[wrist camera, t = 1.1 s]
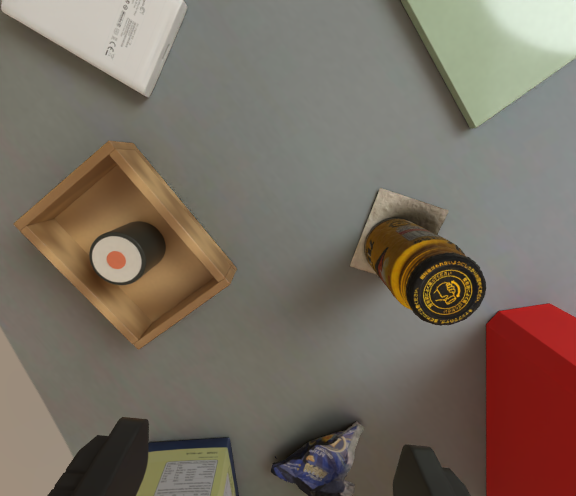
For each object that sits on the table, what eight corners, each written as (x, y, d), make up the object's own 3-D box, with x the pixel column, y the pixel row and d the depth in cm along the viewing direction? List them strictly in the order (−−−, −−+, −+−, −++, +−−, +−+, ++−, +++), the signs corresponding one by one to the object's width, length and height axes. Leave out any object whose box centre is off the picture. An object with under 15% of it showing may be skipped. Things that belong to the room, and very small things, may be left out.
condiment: (349, 265, 33) (382, 322, 22) (379, 187, 31) (434, 204, 20) (413, 285, 34) (478, 350, 23) (447, 209, 32) (538, 239, 20)
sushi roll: (107, 239, 32) (75, 254, 27) (142, 211, 31) (116, 221, 26) (140, 276, 33) (115, 296, 28) (175, 249, 32) (156, 265, 27)
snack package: (381, 469, 41) (356, 401, 38) (389, 527, 35) (359, 452, 32) (294, 478, 44) (263, 416, 41) (288, 533, 38) (251, 465, 35)
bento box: (48, 215, 32) (12, 224, 28) (133, 142, 30) (108, 140, 26) (155, 327, 35) (138, 350, 31) (237, 268, 33) (230, 284, 29)
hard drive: (46, -85, 25) (188, 7, 27) (15, 18, 27) (149, 98, 29) (31, -101, 24) (182, -2, 25) (-2, 10, 26) (142, 95, 27)
